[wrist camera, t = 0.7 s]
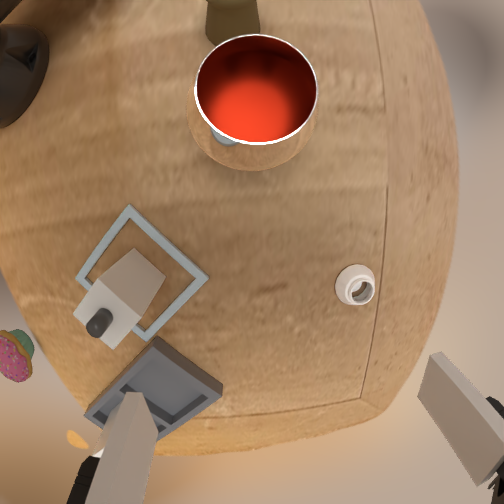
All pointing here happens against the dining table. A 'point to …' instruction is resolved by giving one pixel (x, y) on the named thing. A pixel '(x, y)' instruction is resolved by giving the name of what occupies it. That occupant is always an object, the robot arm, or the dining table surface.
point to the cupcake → (16, 355)
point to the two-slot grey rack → (160, 388)
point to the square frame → (167, 246)
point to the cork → (231, 19)
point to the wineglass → (253, 102)
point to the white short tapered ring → (355, 284)
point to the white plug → (106, 432)
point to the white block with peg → (119, 298)
